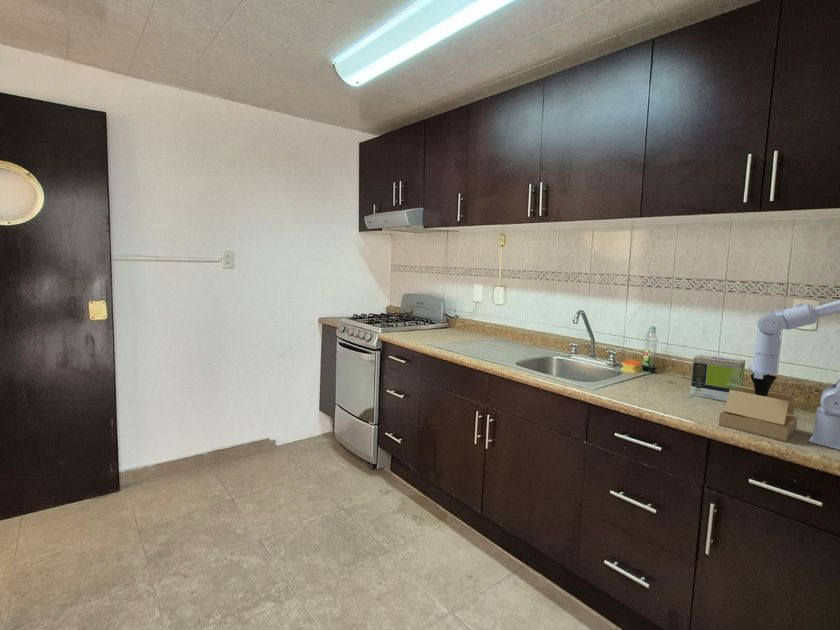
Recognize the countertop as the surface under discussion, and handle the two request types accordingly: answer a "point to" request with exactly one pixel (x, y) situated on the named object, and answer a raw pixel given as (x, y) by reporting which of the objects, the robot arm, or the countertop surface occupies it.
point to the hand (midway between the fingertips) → (760, 398)
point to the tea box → (716, 376)
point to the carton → (759, 426)
